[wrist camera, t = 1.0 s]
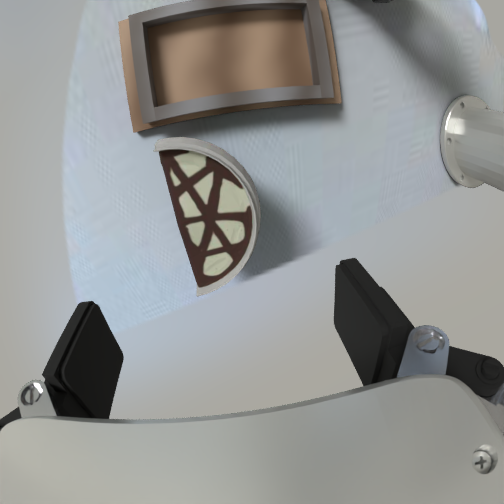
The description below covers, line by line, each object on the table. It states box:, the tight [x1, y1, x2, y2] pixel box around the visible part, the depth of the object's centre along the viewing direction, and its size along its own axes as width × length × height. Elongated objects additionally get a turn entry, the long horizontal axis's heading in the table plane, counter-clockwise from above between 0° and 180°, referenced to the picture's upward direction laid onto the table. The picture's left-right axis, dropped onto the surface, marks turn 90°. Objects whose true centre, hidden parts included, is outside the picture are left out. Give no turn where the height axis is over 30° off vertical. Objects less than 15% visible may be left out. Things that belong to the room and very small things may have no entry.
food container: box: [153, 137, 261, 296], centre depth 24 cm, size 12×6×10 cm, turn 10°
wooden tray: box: [119, 0, 341, 132], centre depth 21 cm, size 20×12×3 cm, turn 98°
